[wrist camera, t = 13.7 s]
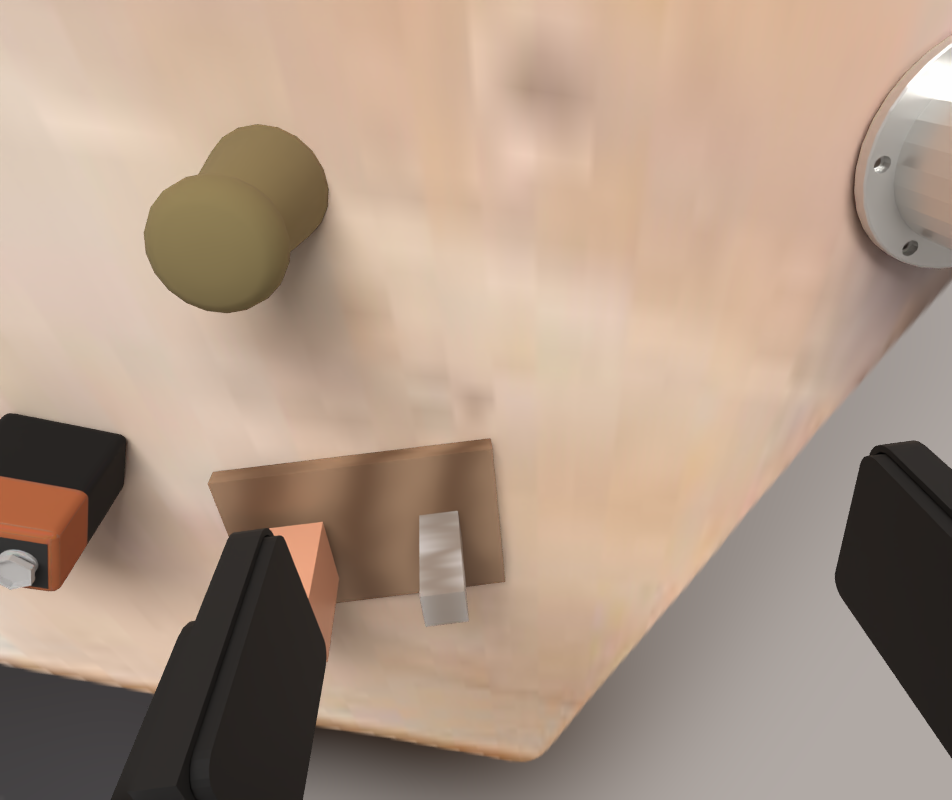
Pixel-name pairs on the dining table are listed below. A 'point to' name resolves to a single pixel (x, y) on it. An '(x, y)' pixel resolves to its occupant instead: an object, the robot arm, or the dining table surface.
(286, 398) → the dining table surface
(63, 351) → the dining table surface
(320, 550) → the salmon pink foam cube
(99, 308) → the dining table surface
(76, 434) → the battery
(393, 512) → the peg stand
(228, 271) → the cork
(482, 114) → the dining table surface
